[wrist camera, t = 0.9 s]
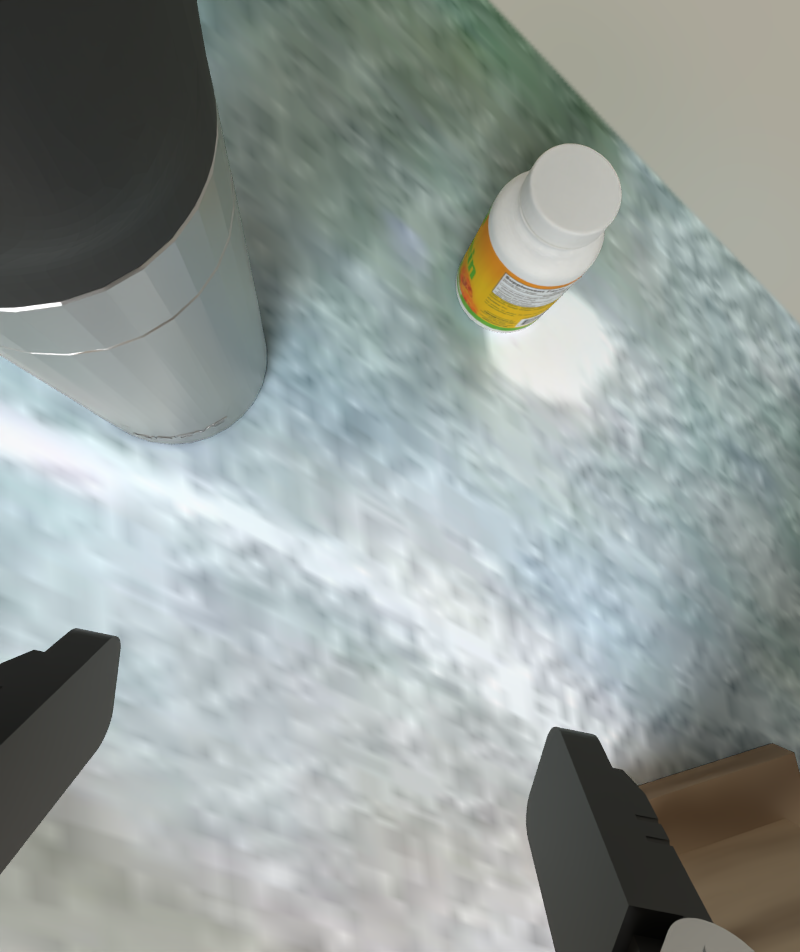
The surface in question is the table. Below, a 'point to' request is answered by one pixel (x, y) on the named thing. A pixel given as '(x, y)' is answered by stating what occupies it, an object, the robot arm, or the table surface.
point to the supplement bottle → (538, 238)
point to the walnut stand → (740, 841)
